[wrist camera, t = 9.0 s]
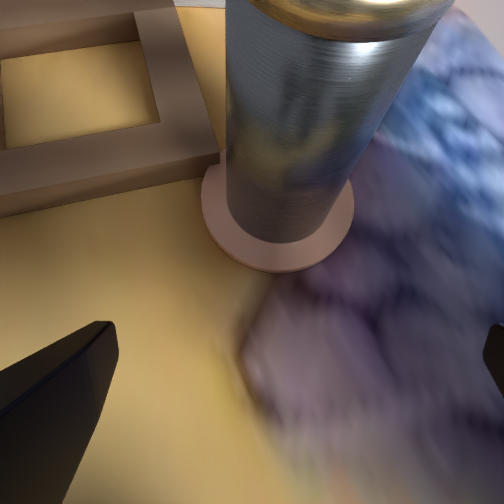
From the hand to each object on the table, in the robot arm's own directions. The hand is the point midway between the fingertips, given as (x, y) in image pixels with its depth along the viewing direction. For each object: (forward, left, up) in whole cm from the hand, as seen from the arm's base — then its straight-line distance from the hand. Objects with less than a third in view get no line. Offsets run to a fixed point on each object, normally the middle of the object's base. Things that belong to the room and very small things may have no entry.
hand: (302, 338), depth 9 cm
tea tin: (+8, +3, -7) cm, 11 cm away
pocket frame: (+9, +16, -8) cm, 20 cm away
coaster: (+8, +3, -8) cm, 12 cm away
